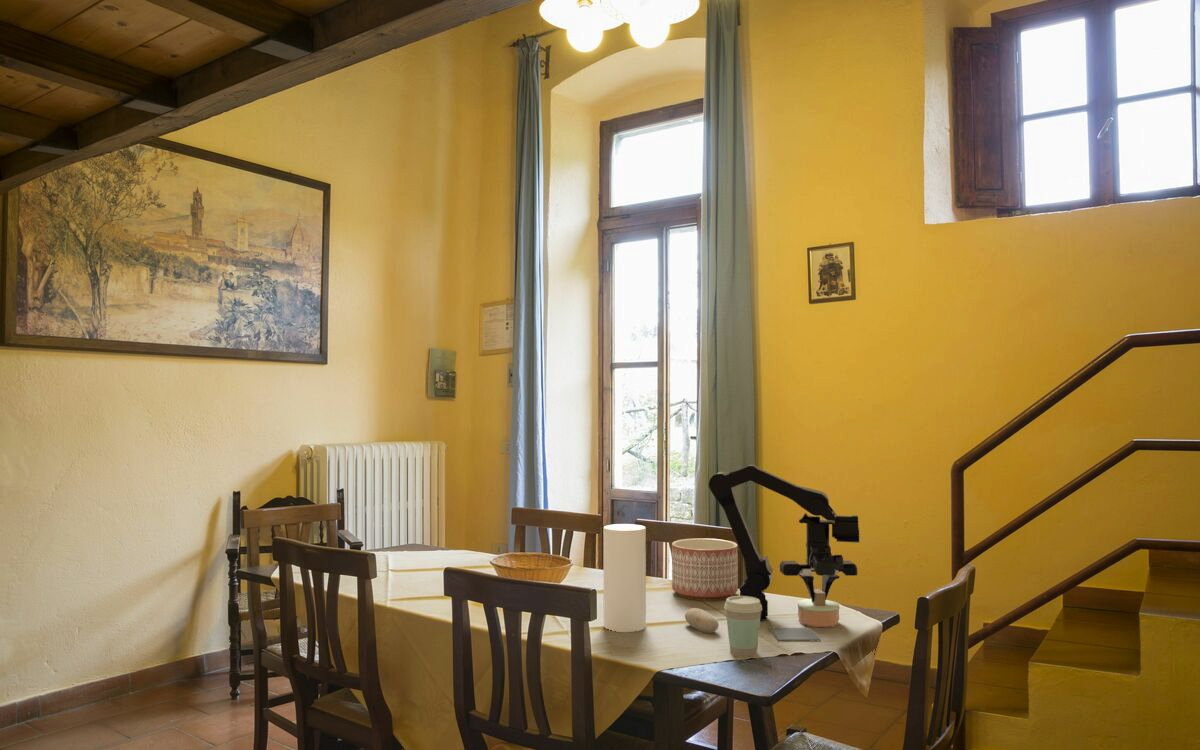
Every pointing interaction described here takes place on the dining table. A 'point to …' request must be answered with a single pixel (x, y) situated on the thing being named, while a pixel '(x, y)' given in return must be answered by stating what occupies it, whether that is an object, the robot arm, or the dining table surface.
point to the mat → (794, 634)
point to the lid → (818, 603)
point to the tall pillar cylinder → (625, 577)
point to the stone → (701, 620)
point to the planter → (705, 568)
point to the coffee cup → (743, 624)
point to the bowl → (818, 618)
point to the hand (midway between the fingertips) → (818, 601)
